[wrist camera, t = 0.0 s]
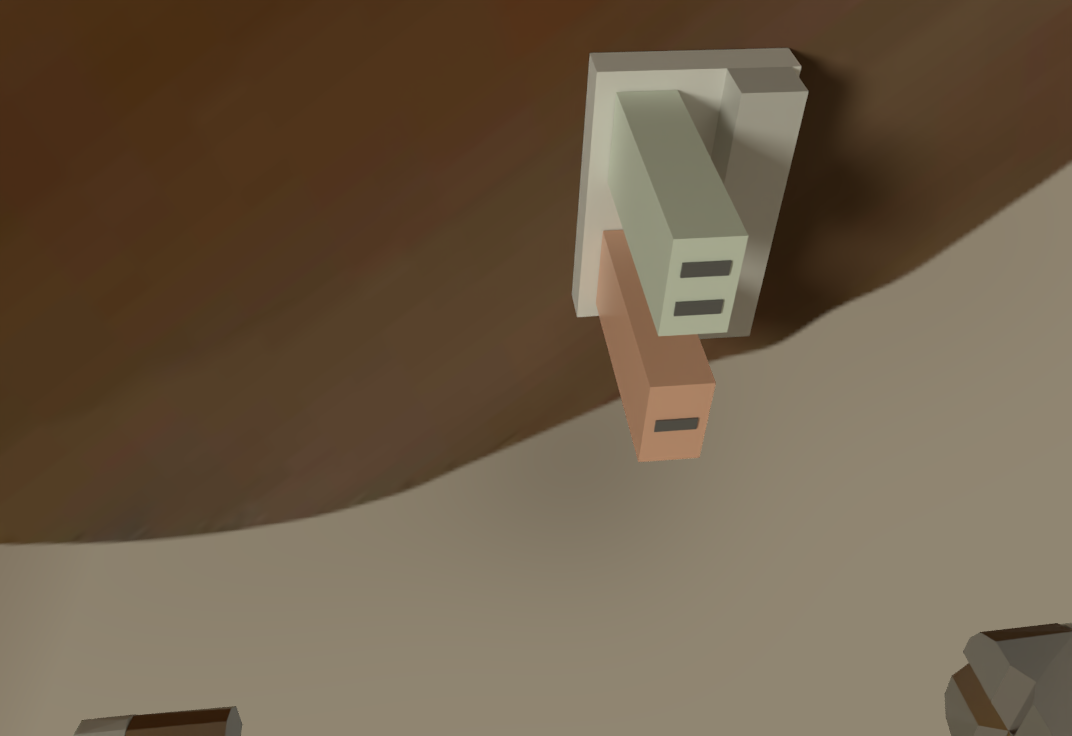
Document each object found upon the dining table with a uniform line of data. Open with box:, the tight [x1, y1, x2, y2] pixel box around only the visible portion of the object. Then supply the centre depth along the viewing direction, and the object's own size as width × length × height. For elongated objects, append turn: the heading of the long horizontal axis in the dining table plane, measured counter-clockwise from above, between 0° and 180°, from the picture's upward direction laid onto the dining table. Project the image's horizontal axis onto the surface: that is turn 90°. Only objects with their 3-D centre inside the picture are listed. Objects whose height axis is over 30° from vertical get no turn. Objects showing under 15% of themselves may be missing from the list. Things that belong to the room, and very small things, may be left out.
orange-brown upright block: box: [596, 230, 716, 462], centre depth 49 cm, size 5×3×12 cm, turn 178°
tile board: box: [572, 48, 809, 339], centre depth 51 cm, size 15×10×4 cm, turn 178°
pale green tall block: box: [608, 90, 748, 336], centre depth 44 cm, size 5×3×12 cm, turn 178°
